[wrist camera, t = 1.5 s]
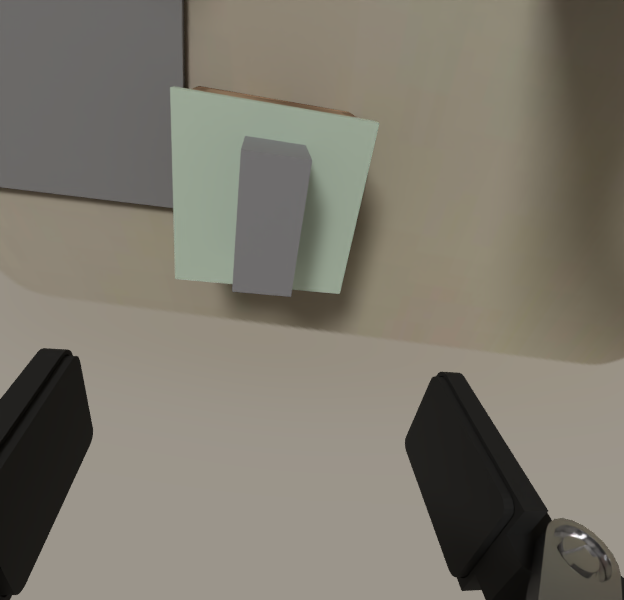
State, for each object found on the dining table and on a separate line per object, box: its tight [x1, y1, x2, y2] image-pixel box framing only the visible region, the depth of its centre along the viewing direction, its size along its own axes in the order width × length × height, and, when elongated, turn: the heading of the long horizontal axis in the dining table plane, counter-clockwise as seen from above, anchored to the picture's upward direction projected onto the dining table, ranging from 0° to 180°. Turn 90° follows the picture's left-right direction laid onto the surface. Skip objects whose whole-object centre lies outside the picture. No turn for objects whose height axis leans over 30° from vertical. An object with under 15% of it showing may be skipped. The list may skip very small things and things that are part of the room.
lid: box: [170, 86, 379, 297], centre depth 23 cm, size 12×12×6 cm
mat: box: [0, 0, 185, 208], centre depth 26 cm, size 15×15×1 cm
